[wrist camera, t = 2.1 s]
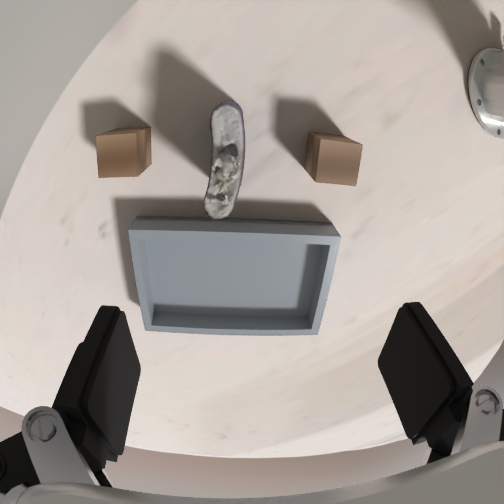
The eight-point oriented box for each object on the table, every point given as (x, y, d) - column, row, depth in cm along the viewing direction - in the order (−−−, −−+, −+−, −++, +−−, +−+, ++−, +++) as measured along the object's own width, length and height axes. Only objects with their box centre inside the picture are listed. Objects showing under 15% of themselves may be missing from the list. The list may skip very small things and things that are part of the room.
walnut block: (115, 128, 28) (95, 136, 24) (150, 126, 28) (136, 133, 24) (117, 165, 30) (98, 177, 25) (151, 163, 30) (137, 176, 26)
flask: (218, 99, 27) (209, 102, 18) (248, 102, 28) (254, 106, 18) (210, 187, 32) (200, 231, 22) (238, 189, 32) (240, 234, 23)
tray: (137, 216, 33) (128, 229, 30) (332, 223, 34) (340, 236, 31) (150, 313, 40) (145, 330, 36) (312, 317, 41) (317, 334, 38)
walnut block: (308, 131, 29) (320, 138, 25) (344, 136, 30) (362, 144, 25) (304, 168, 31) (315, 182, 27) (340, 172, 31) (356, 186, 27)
